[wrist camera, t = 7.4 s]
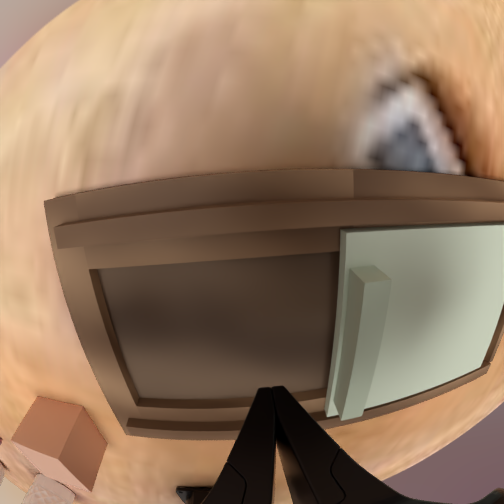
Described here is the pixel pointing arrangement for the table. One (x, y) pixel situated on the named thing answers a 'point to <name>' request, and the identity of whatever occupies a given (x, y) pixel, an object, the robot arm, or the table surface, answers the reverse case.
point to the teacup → (1, 473)
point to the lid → (412, 310)
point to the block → (61, 442)
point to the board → (233, 286)
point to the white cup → (48, 492)
